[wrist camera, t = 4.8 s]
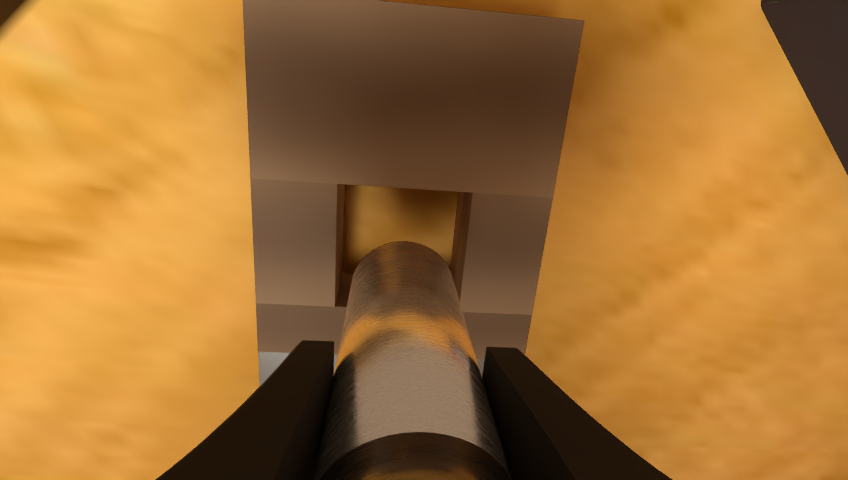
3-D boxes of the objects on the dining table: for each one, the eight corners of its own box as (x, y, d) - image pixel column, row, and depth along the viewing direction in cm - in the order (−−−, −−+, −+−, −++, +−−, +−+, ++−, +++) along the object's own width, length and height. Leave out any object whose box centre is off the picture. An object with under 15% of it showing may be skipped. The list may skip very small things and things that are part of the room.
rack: (506, 321, 21) (523, 360, 18) (276, 312, 20) (258, 352, 17) (552, 28, 17) (584, 20, 14) (268, 0, 16) (242, -14, 13)
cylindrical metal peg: (473, 273, 14) (601, 592, 5) (418, 350, 15) (454, 734, 6) (385, 222, 13) (372, 496, 5) (331, 305, 14) (239, 671, 5)
